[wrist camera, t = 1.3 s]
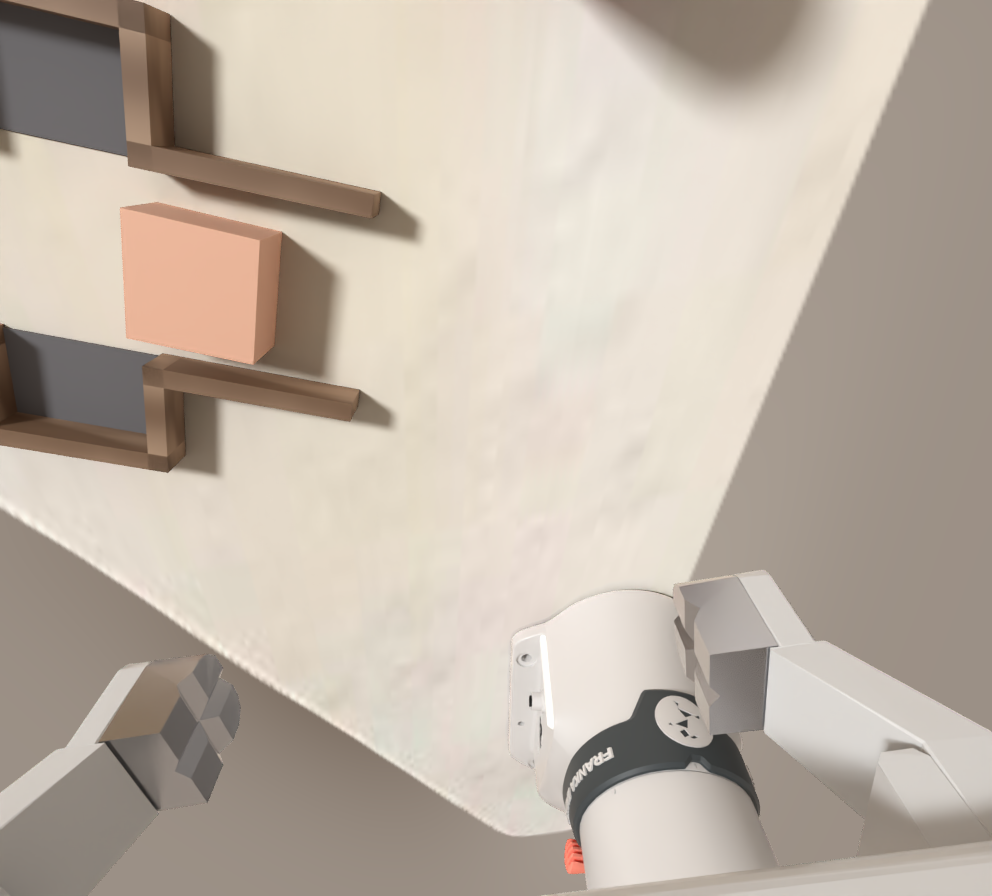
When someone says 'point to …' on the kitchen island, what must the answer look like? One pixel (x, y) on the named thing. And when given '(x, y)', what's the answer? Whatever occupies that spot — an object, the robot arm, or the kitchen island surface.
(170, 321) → the block
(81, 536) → the kitchen island surface
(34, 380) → the box
